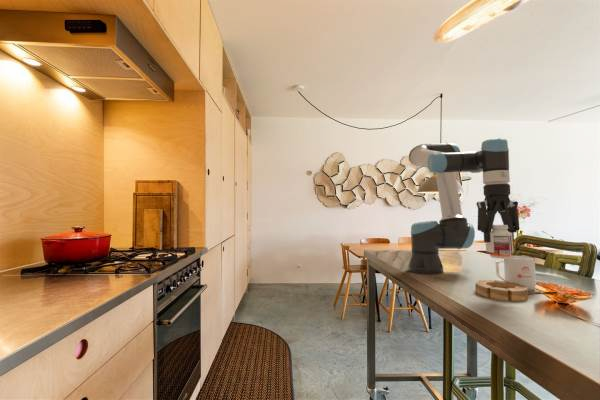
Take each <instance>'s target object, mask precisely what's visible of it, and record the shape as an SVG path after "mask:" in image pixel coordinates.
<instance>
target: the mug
mask: <svg viewBox="0 0 600 400" xmlns="http://www.w3.org/2000/svg"><path fill="white" fill-rule="evenodd" d="M535 259H536V258H534V257H531V256H525V255H512V258H510V259H503V260H497V261H494V264H495V273H496V276H497V278H498V279H500V280H501V281H506V282H510V283H516V284H520V285H523V286H525V287H527V292H533V291H534V290H535V289H536V288H535V286H536V287H537V284H536V283H537V280H536V279H537V278H536V261H535ZM500 263H503V267H504V271H503V272H504V277H501V275H500V269H499V267H500V266H499V264H500Z"/></svg>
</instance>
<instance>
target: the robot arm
mask: <svg viewBox="0 0 600 400" xmlns="http://www.w3.org/2000/svg"><path fill="white" fill-rule="evenodd" d="M509 151H510V148H509V145H508V140H507V139H506V138H502V137H499V138H498V137H497V138H490V139H486V140H484V141H482V142H481V148H480V150H478V151H463V152H461V149H460V147H459V146H458V145H457V143H454V142H441V143H439V142H438V143H422V144H419V145H416V146H414V147H413V148H412V149H411V150H410V151H409V153H408V159H409V160H408V161H409V162H410V163H411V165H413V166H416V167H426V168H427V169H428V171H429V172H430V173H433V174H435V177H436V183H437V184H436V185H437V189H438V190H437V191H438V197H439V204H440V205H439V206H440V211H441V219H440V220H439V221H437V220H428V221H420V222H419V221H418V222H415V223H413V224H412V225H411V226H410V237H411V238H410V239H411V241H410V243H411V256H410V259H409V261H408V265H407V266H408V267H407V269H408V270H407V271H408V272H412V273H414V274H422V275H441V274H443V273H444V266H443V264H442V261H441V258H440V256H439V250H443V249H446V250H449V249H450V250H451V249H453V250H454V249H457V250H463V249H470V248H471V247H472V245H473V243H474V241H475V236H476V231H475V228H474V225H473V224H472V223H470V222H468V219H467V217H465V216H463V212H462V211H463V210H462V205H461V199H460V195H459V188H458V182H457V176H456V173H471V174H475V173H476V174H478V173H481V172H482V184H483V185H484V186H483V195H484V196H485V197H484V199H483V200H482V201H477V202H476V207H477V231H479V232H481V233H483V242H484V243H485V251H486V252H487V253H490V252H492V253H494V234H493V233H490V232H491V231H492V226H493V225H494V221H495V217H496V214H497V213H498V214H499V215H500V217H501V221H502V225H508V229H507V231H509V232H510V233H511V241H512V253H514V241H515V238H514V237H515V233H517V231H520V221H519V214H518V206H519V202H518V201H517V200H516V201H515V200H514V201H513V200H511V199H510V197H509V196H510V195H511V184H509V183H510V181H511V180H510V157H509V156H510V155H509Z"/></svg>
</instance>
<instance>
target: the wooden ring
mask: <svg viewBox="0 0 600 400" xmlns="http://www.w3.org/2000/svg"><path fill="white" fill-rule="evenodd" d="M474 285H475V293H476V294H478V295H481V296H483V297H486V298H490V299H493V300H494V299H495V300H501V301H507V302H508V301H512V302H516V301H517V302H518V301H519V302H521V301H528V294H527V292H528V291H527V287H525V286H523V285H520V284H516V283H510V282H506V281H503V280H496V279H494V280H492V279H484V280H482V279H481V280H480V279H479V280H476V282H475V284H474Z"/></svg>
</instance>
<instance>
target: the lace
mask: <svg viewBox="0 0 600 400" xmlns="http://www.w3.org/2000/svg"><path fill="white" fill-rule="evenodd" d="M527 295H541V292H539V291H538V290H537V291H527Z"/></svg>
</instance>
